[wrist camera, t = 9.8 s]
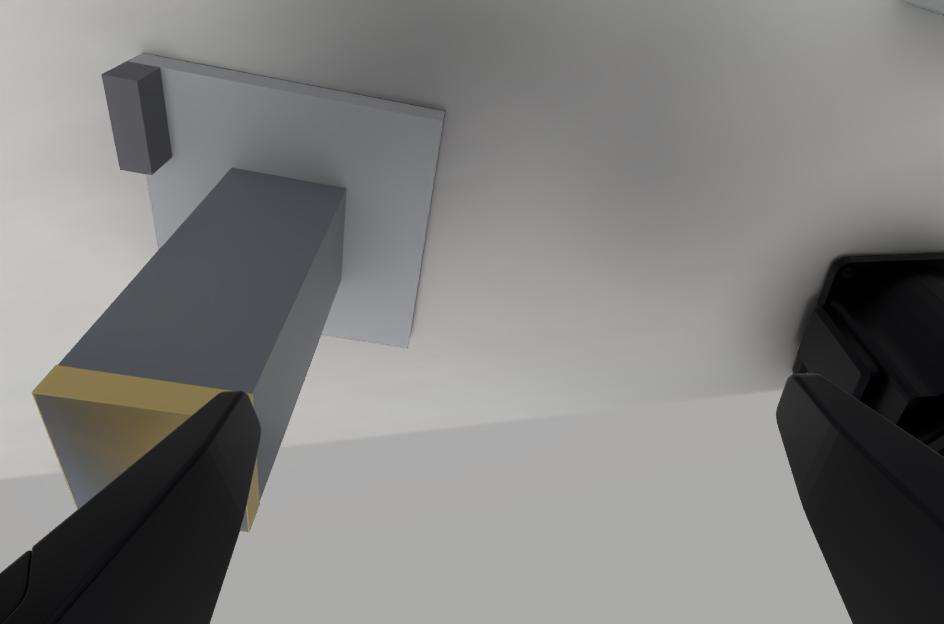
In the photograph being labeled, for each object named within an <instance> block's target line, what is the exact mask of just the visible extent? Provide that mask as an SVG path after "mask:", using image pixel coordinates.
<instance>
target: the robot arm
mask: <svg viewBox="0 0 944 624" xmlns="http://www.w3.org/2000/svg"><path fill="white" fill-rule="evenodd" d="M847 268H850V269H849V270H848V271H847V272H845V273H843V271H844V270H846V269H847ZM798 355H799V357H798V359H797V362H796V365H795V368H794V370H793V375H791V376H790V377H789V378H788V379H787V382H786V384H785V387H784V390H783V393H782V396H781V398H780V401H779V404H778V407H777V411H776V419H777V424H778V428H779V431H780V434H781V437H782V441H783V444H784V447H785V451H786V454H787V457H788V461H789V464H790V467H791V471H792V474H793V477H794V480H795V484H796V487H797V490H798V494H799V496H800V500H801V503H802V506H803V509H804V511H805V513H806V516H807V518H808V521H809V523H810V526H811V528H812V530H813V533H814V535H815V537H816V540H817V542H818V544H819V546H820V549H821V551H822V553H823V556H824V558H825V560H826V563H827V565H828V567H829V570H830V572H831V574H832V577H833V579H834V581H835V584H836V586H837V588H838V590H839V593H840V595H841V597H842V599H843V602H844V604H845V607H846V609H847V611H848V614H849V616H850V618H851V621H852V623H853V624H944V253H935V254H909V255H882V256H856V257H844V258H841V259H839V260H837V261H836V262H835V263H834V264H833V265H832V267H831V269H830V272H829V274H828V277H827V280H826V283H825V285H824V288H823V291H822V294H821V296H820V299H819V302H818V305H817V307H816V308H815V309H814V310H813V313H812V315H811V318H810V321H809V324H808V326H807V329H806V332H805V335H804V337H803V340H802V343H801V346H800V348H799V351H798ZM260 438H261V425H260V421H259V419H258V417H257V414H256V412H255V409H254V407H253V405H252V402H251V400H250V397H249V396H248V394H247V393H246V392H244V391H224V392H221V393H219V394H217V395H216V396H215V397H214V398H212V399H211V400H210V401H209V402H207V403H206V404H205V405H204V406H203V407H201V408H200V409H199V410H198V411H197V412H195V413H194V414H193V415H192V416H191V417H189V418H188V419H187V420H186V421H184V422H183V423H182V424H181V425H180V426H178V427H177V428H176V429H175V430H174V431H172V432H171V433H170V434H169V435H167V436H166V437H165V438H164V439H163V440H161V441H160V442H159V443H158V444H157V445H155V446H154V447H153V448H152V449H151V450H149V451H148V452H147V453H146V454H144V455H143V456H142V457H141V458H140V459H138V460H137V461H136V462H135V463H134V464H132V465H131V466H130V467H129V468H127V469H126V470H125V471H124V472H123V473H121V474H120V475H119V476H118V477H117V478H115V479H114V480H113V481H112V482H110V483H109V484H108V485H107V486H106V487H104V488H103V489H102V490H101V491H100V492H98V493H97V494H96V495H95V496H94V497H92V498H91V499H90V500H89V501H87V502H86V503H85V504H84V505H83V506H81V507H80V508H79V509H78V510H77V511H76V512H74V513H73V514H72V515H71V516H69V517H68V518H67V519H66V520H64V521H63V522H62V523H61V524H60V525H58V526H57V527H56V528H55V529H53V530H52V531H51V532H50V533H49V534H47V535H46V536H45V537H44V538H43V539H41V540H40V541H39V542H38V543H37V544H35V545H34V546H33V548H32V551H27V552H25V553H24V554H23V555H22V556H21V557H19V558H18V559H17V560H16V561H15V562H13V563H12V564H11V565H10V566H8V567H7V568H6V569H5V570H4V571H2V572H1V573H0V624H210V621H211V618H212V615H213V611H214V608H215V605H216V602H217V599H218V596H219V593H220V590H221V587H222V584H223V581H224V578H225V575H226V572H227V569H228V566H229V563H230V559H231V557H232V553H233V550H234V547H235V544H236V541H237V538H238V535H239V532H240V529H241V525H242V522H243V519H244V515H245V510H246V506H247V501H248V497H249V492H250V487H251V482H252V477H253V472H254V467H255V463H256V458H257V453H258V448H259V443H260Z"/></svg>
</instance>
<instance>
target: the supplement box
mask: <svg viewBox="0 0 944 624" xmlns="http://www.w3.org/2000/svg"><path fill="white" fill-rule="evenodd" d="M902 1H904V2H906V3H908V4H911V5H913V6H916V7H919V8H922V9H925V10H928V11H931V12H934V13H937V14H941V15H944V0H902Z"/></svg>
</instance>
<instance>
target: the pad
mask: <svg viewBox="0 0 944 624" xmlns="http://www.w3.org/2000/svg"><path fill="white" fill-rule="evenodd" d="M102 79H103V84H104V89H105V94H106V99H107V105H108V110H109V115H110V120H111V125H112V130H113V135H114V140H115V146H116V151H117V156H118V161H119V166H120V170H125V171H131V172H137V173H143V174H146V176H147V182H148V188H149V194H150V200H151V206H152V212H153V218H154V224H155V230H156V236H157V242H158V248H159V249H160V248H161V247H162V246H163V245H164V244H165V243H166V241H167V240H168V239H169V238H170V237H171V236H172V235H173V234H174V232H175V231H176V230H177V229H178V228H179V227H180V226H181V224H182V223H183V222H184V221H185V220H186V219H187V218H188V216H189V215H190V214H191V213H192V212H193V211H194V210H195V208H196V207H197V206H198V205H199V204H200V203H201V202H202V201H203V199H204V198H205V197H206V196H207V195H208V194H209V193H210V191H211V190H212V189H213V188H214V187H215V186H216V185H217V183H218V182H219V181H220V180H221V179H222V178H223V177H224V176H225V174H226V173H227V172H228V171H229V170H230V169H231V168H237V169H243V170H248V171H254V172H259V173H265V174H270V175H276V176H282V177H287V178H293V179H298V180H304V181H309V182H315V183H320V184H326V185H332V186H337V187H343V188H347V191H346V208H345V225H344V242H343V259H342V276H341V282H340V285H339V288H338V290H337V293H336V296H335V298H334V301H333V304H332V307H331V309H330V312H329V315H328V317H327V320H326V323H325V326H324V328H323V331H322V334H321V335H325V336H332V337H338V338H345V339H351V340H357V341H364V342H370V343H377V344H383V345H390V346H396V347H402V348H408V345H409V340H410V334H411V328H412V321H413V315H414V308H415V302H416V295H417V289H418V282H419V276H420V269H421V263H422V256H423V250H424V243H425V237H426V230H427V224H428V218H429V211H430V205H431V198H432V192H433V185H434V179H435V172H436V166H437V159H438V153H439V146H440V140H441V133H442V127H443V120H444V114H445V111H441V110H435V109H430V108H425V107H420V106H415V105H409V104H404V103H399V102H394V101H389V100H383V99H378V98H373V97H368V96H363V95H357V94H352V93H347V92H342V91H337V90H331V89H326V88H321V87H316V86H311V85H306V84H300V83H295V82H290V81H285V80H280V79H274V78H269V77H264V76H259V75H254V74H248V73H243V72H238V71H233V70H228V69H222V68H217V67H212V66H207V65H202V64H197V63H191V62H186V61H181V60H176V59H171V58H165V57H160V56H155V55H150V54H145V53H142V54H140V55H138V56H136V57H134V58H132V59H130V60H128V61H126V62H125V63H123V64H121V65H119V66H117V67H115V68H113V69H111V70H109V71H107V72H105V73H103V74H102ZM158 251H159V250H158ZM151 259H152V258H151ZM151 259H150V260H151ZM144 267H145V266H144ZM144 267H143V268H144Z"/></svg>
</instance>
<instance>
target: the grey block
mask: <svg viewBox="0 0 944 624" xmlns="http://www.w3.org/2000/svg"><path fill="white" fill-rule="evenodd" d="M346 191H347V188H343V187H337V186H332V185H326V184H320V183H315V182H309V181H304V180H298V179H293V178H287V177H282V176H276V175H270V174H265V173H259V172H254V171H248V170H243V169H237V168H231V169H230V170H229V171H228V172H227V173H226V174H225V176H224V177H223V178H222V179H221V180H220V181H219V182H218V183H217V185H216V186H215V187H214V188H213V189H212V190H211V191H210V193H209V194H208V195H207V196H206V197H205V198H204V199H203V201H202V202H201V203H200V204H199V205H198V206H197V207H196V208H195V210H194V211H193V212H192V213H191V214H190V215H189V216H188V218H187V219H186V220H185V221H184V222H183V223H182V224H181V226H180V227H179V228H178V229H177V230H176V231H175V232H174V234H173V235H172V236H171V237H170V238H169V239H168V240H167V241H166V243H165V244H164V245H163V246H162V247H161V248H160V249H159V251H158V252H157V253H156V254H155V255H154V256H153V257H152V259H151V260H150V261H149V262H148V263H147V264H146V265H145V267H144V268H143V269H142V270H141V271H140V272H139V273H138V274H137V276H136V277H135V278H134V279H133V280H132V281H131V282H130V284H129V285H128V286H127V287H126V288H125V289H124V290H123V292H122V293H121V294H120V295H119V296H118V297H117V298H116V299H115V301H114V302H113V303H112V304H111V305H110V306H109V307H108V309H107V310H106V311H105V312H104V313H103V314H102V315H101V317H100V318H99V319H98V320H97V321H96V322H95V323H94V325H93V326H92V327H91V328H90V329H89V330H88V331H87V332H86V334H85V335H84V336H83V337H82V338H81V339H80V340H79V342H78V343H77V344H76V345H75V346H74V347H73V348H72V350H71V351H70V352H69V353H68V354H67V355H66V356H65V358H64V359H63V360H62V361H61V362H60V363H59V364H58V365H56V366H55V367H54V368H53V369H52V370H51V371H50V372H49V373H48V375H47V376H46V377H45V378H44V379H43V380H42V381H41V382H40V384H39V385H38V386H37V387H36V388H35V389H34V390H33V392H32V394H33V397H34V400H35V402H36V405H37V407H38V410H39V413H40V415H41V418H42V420H43V423H44V426H45V428H46V431H47V433H48V436H49V438H50V441H51V444H52V446H53V449H54V451H55V454H56V457H57V459H58V462H59V464H60V467H61V470H62V472H63V475H64V477H65V480H66V483H67V485H68V488H69V490H70V493H71V496H72V498H73V500H74V503H75V506H76V508H77V510H78V509H79V508H80V507H81V506H83V505H84V504H85V503H86V502H87V501H89V500H90V499H91V498H92V497H94V496H95V495H96V494H97V493H98V492H100V491H101V490H102V489H103V488H104V487H106V486H107V485H108V484H109V483H110V482H112V481H113V480H114V479H115V478H117V477H118V476H119V475H120V474H121V473H123V472H124V471H125V470H126V469H127V468H129V467H130V466H131V465H132V464H134V463H135V462H136V461H137V460H138V459H140V458H141V457H142V456H143V455H144V454H146V453H147V452H148V451H149V450H151V449H152V448H153V447H154V446H155V445H157V444H158V443H159V442H160V441H161V440H163V439H164V438H165V437H166V436H167V435H169V434H170V433H171V432H172V431H174V430H175V429H176V428H177V427H178V426H180V425H181V424H182V423H183V422H184V421H186V420H187V419H188V418H189V417H191V416H192V415H193V414H194V413H195V412H197V411H198V410H199V409H200V408H201V407H203V406H204V405H205V404H206V403H207V402H209V401H210V400H211V399H212V398H214V397H215V396H216V395H217V394H219V393H221V392H224V391H244V392H246V393H247V394H248V396H249V397H250V400H251V402H252V405H253V407H254V409H255V412H256V414H257V417H258V419H259V421H260V425H261V438H260V443H259V448H258V453H257V458H256V463H255V467H254V472H253V477H252V482H251V487H250V492H249V497H248V501H247V506H246V510H245V515H244V519H243V522H242V525H241V529H240V531H243V532H250V529H251V526H252V524H253V521H254V518H255V515H256V513H257V510H258V507H259V504H260V499H261V496H262V493H263V491H264V488H265V485H266V482H267V480H268V477H269V475H270V472H271V469H272V467H273V464H274V461H275V458H276V455H277V453H278V450H279V448H280V445H281V442H282V439H283V437H284V434H285V431H286V429H287V426H288V423H289V420H290V418H291V415H292V412H293V410H294V407H295V404H296V401H297V399H298V396H299V393H300V391H301V388H302V385H303V382H304V380H305V377H306V374H307V372H308V369H309V366H310V364H311V361H312V358H313V355H314V353H315V350H316V347H317V345H318V342H319V339H320V336H321V334H322V331H323V328H324V326H325V323H326V320H327V317H328V315H329V312H330V309H331V307H332V304H333V301H334V298H335V296H336V293H337V290H338V288H339V285H340V282H341V276H342V259H343V242H344V225H345V208H346Z"/></svg>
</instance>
